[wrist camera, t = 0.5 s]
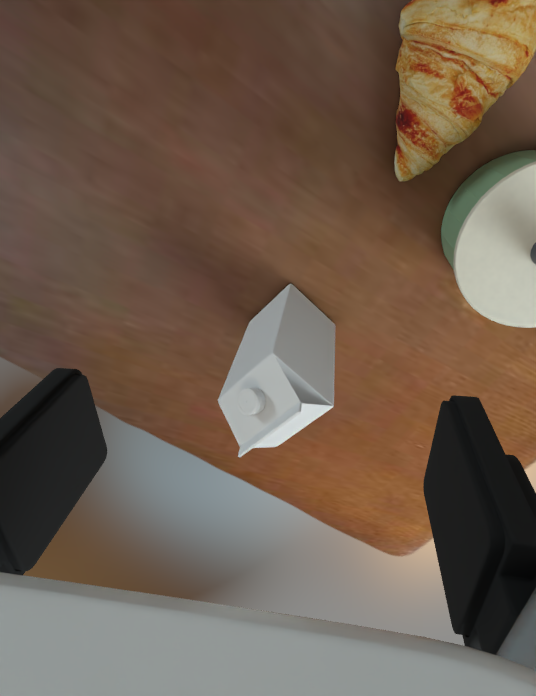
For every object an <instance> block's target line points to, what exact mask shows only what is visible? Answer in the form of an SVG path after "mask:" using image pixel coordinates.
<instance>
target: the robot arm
mask: <svg viewBox="0 0 536 696" xmlns="http://www.w3.org/2000/svg"><path fill="white" fill-rule="evenodd" d="M106 455H107V447H106V443H105V440H104V437H103V433H102V429H101V425H100V422H99V418H98V415H97V411H96V408H95V404H94V401H93V397H92V393H91V390H90V386H89V383H88V380H87V377H86V376H84V375H82V373H81V372H80V371H79V370H77V369H64V368H57V369H55V370H53V371H52V372H51V373H50V374H49V375H47V376H46V377H45V378H44V379H43V380H42V381H41V382H40V383H39V384H38V385H37V386H35V387H34V388H33V389H32V390H31V391H30V392H29V393H28V394H27V395H25V396H24V397H23V398H22V399H21V400H20V401H19V402H18V403H17V404H15V405H14V406H13V407H12V408H11V409H10V410H9V411H8V412H7V413H6V414H5V415H3V416H2V417H1V418H0V696H536V493H535V491H534V489H533V487H532V485H531V483H530V481H529V479H528V477H527V475H526V473H525V471H524V469H523V467H522V465H521V463H520V462H519V460H518V459H517V458H516V457H515V456H513V455H505V453H504V451H503V449H502V446H501V444H500V442H499V440H498V438H497V436H496V434H495V432H494V429H493V427H492V425H491V423H490V421H489V419H488V417H487V414H486V412H485V410H484V408H483V406H482V404H481V402H480V400H479V398H477V397H467V396H451V398H450V400H449V401H443V402H442V404H441V407H440V412H439V416H438V420H437V425H436V429H435V433H434V438H433V442H432V447H431V451H430V455H429V460H428V464H427V469H426V473H425V477H424V496H425V500H426V505H427V510H428V515H429V519H430V524H431V529H432V533H433V538H434V543H435V548H436V552H437V557H438V562H439V566H440V571H441V576H442V581H443V585H444V590H445V595H446V600H447V604H448V609H449V614H450V619H451V623H452V627H453V630H454V632H455V633H456V634H461V635H463V639H464V643H465V646H462V645H458V644H453V643H449V642H444V641H440V640H435V639H430V638H426V637H421V636H415V635H409V634H403V633H398V632H392V631H386V630H380V629H374V628H368V627H362V626H356V625H351V624H344V623H338V622H332V621H326V620H319V619H313V618H306V617H300V616H293V615H287V614H280V613H274V612H267V611H261V610H254V609H248V608H241V607H235V606H228V605H221V604H215V603H208V602H202V601H195V600H188V599H182V598H174V597H168V596H161V595H155V594H148V593H141V592H134V591H128V590H121V589H114V588H107V587H100V586H93V585H87V584H80V583H72V582H65V581H58V580H51V579H44V578H37V577H30V576H23V574H24V573H25V571H28V570H30V569H31V568H32V567H33V566H34V565H35V564H36V562H37V561H38V559H39V558H40V556H41V555H42V553H43V552H44V550H45V549H46V547H47V546H48V544H49V543H50V542H51V540H52V538H53V537H54V535H55V534H56V533H57V531H58V530H59V528H60V527H61V525H62V524H63V522H64V521H65V519H66V518H67V516H68V515H69V513H70V512H71V510H72V509H73V507H74V506H75V504H76V503H77V501H78V500H79V498H80V497H81V495H82V494H83V492H84V491H85V489H86V488H87V486H88V485H89V483H90V482H91V481H92V479H93V478H94V476H95V475H96V473H97V472H98V470H99V468H100V467H101V466H102V464H103V463H104V461H105V459H106Z"/></svg>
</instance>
